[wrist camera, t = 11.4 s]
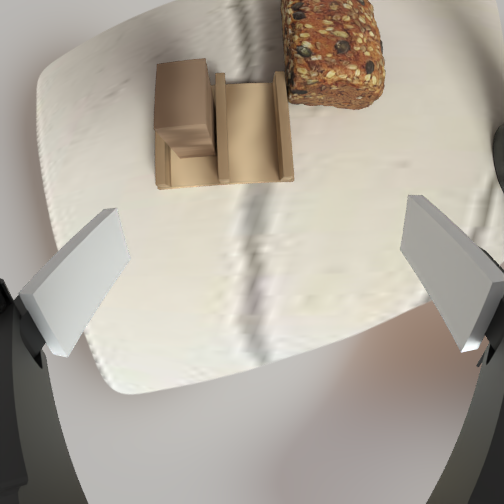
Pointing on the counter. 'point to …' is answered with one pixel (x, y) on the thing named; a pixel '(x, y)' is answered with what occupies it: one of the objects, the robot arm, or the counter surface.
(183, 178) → the divided tray
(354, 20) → the bread
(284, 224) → the counter surface
